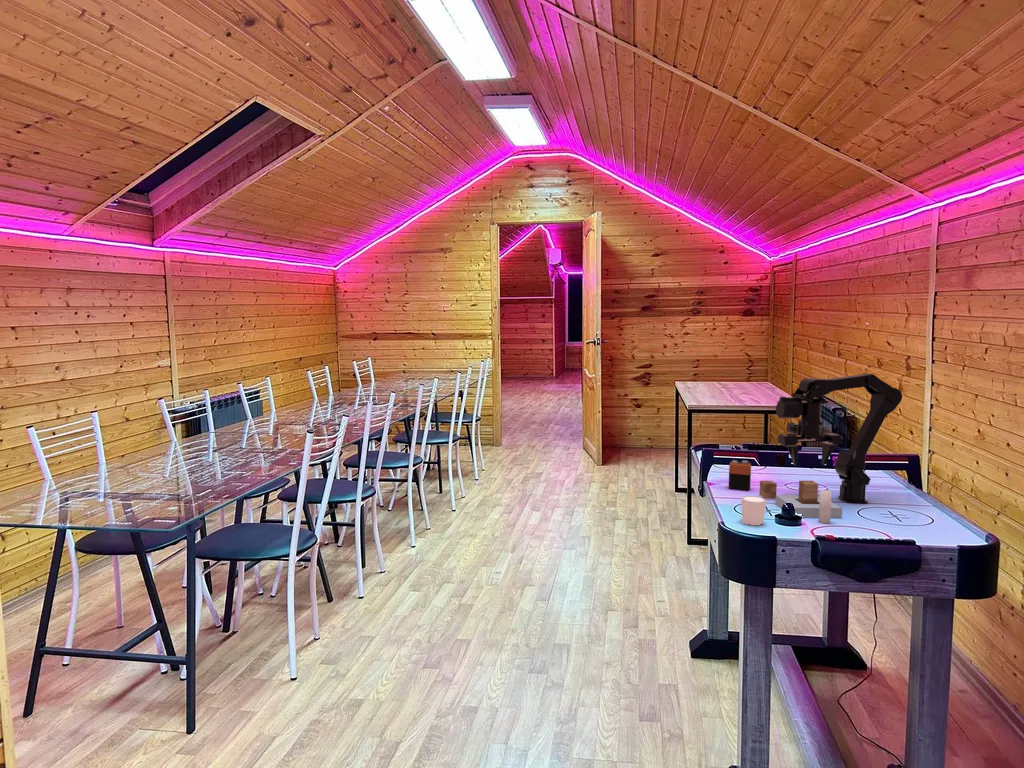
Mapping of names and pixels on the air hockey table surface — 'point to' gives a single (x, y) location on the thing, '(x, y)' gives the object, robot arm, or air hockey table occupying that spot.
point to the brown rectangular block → (808, 492)
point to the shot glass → (753, 510)
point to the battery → (739, 475)
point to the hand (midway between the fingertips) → (809, 465)
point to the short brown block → (768, 489)
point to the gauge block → (813, 506)
